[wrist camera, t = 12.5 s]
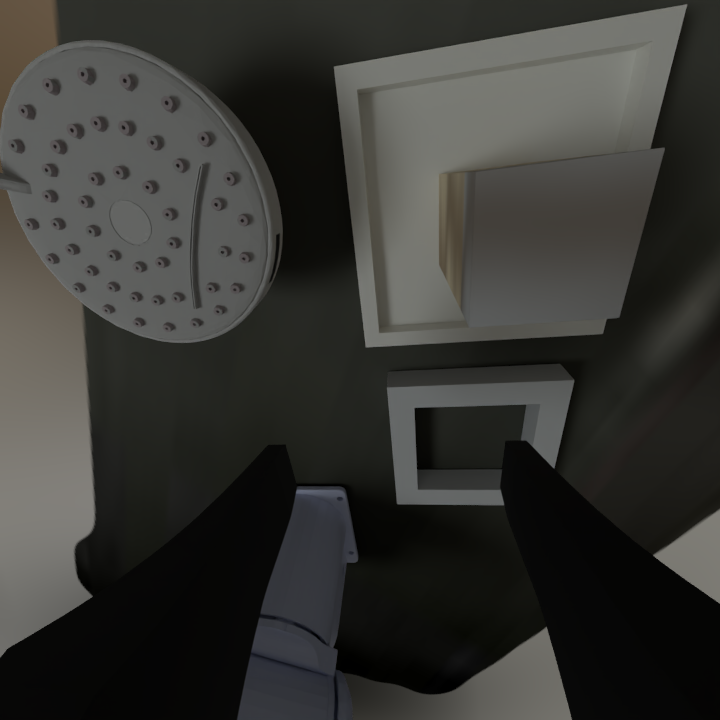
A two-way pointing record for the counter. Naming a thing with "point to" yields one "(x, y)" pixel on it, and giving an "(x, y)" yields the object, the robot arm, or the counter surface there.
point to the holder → (473, 388)
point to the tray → (482, 148)
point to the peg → (544, 236)
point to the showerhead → (140, 191)
